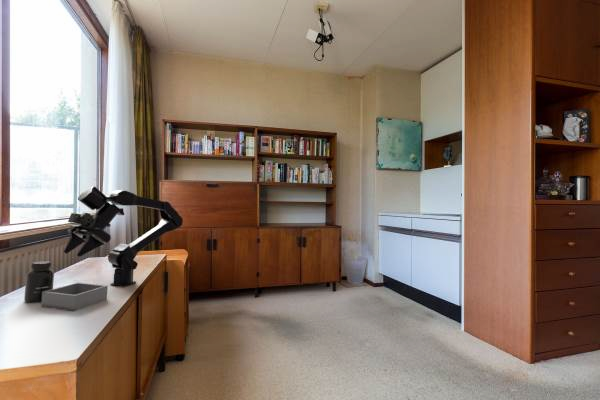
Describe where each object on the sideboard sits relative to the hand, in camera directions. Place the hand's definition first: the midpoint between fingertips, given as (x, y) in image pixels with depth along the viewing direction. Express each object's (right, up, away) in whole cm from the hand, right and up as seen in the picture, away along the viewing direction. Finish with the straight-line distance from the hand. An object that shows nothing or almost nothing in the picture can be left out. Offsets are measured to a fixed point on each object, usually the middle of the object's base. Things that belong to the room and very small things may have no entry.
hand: (71, 254), depth 102 cm
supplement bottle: (-6, -14, -6) cm, 16 cm away
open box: (+7, -14, -8) cm, 17 cm away
